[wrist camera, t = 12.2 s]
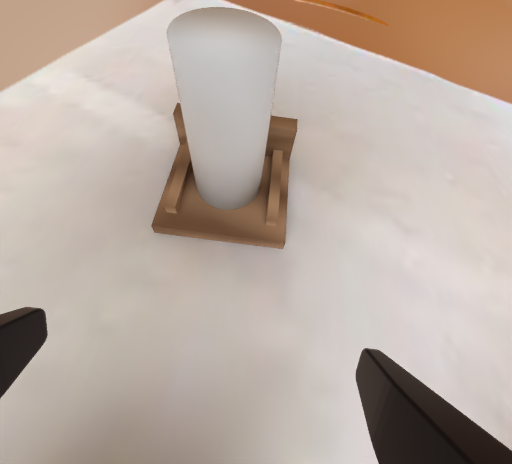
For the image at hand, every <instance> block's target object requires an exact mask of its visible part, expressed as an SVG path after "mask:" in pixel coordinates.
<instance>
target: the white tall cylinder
mask: <svg viewBox="0 0 512 464" xmlns="http://www.w3.org/2000/svg"><path fill="white" fill-rule="evenodd" d="M167 38H168V43H169V48H170V53H171V59H172V64H173V69H174V74H175V79H176V84H177V89H178V95H179V100H180V105H181V110H182V115H183V120H184V125H185V130H186V136H187V141H188V146H189V151H190V156H191V161H192V166H193V172H194V177H195V182H196V187H197V191H198V193H199V195H200V197H201V198H202V199H203V200H204V201H205V202H206V203H208V204H209V205H211V206H213V207H216V208H219V209H225V210H232V209H238V208H242V207H244V206H246V205H248V204H250V203H251V202H252V201H253V200H254V199H255V198H256V197H257V195H258V193H259V191H260V185H261V178H262V171H263V165H264V158H265V151H266V144H267V137H268V131H269V124H270V117H271V110H272V103H273V96H274V90H275V83H276V76H277V69H278V62H279V55H280V49H281V42H282V38H281V34H280V32H279V30H278V29H277V28H276V27H275V25H273V24H272V23H271V22H270V21H268V20H267V19H265V18H263V17H261V16H259V15H257V14H254V13H251V12H248V11H244V10H239V9H234V8H224V7H210V8H201V9H196V10H192V11H189V12H186V13H184V14H181V15H180V16H178V17H176V18H175V19H174V20H173V21H172V22H171V23H170V24H169V26H168V28H167Z"/></svg>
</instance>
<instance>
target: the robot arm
mask: <svg viewBox="0 0 512 464" xmlns="http://www.w3.org/2000/svg"><path fill="white" fill-rule="evenodd" d="M46 338H47V324H46V315H45V312H44V310H43V309H41V308H33V307H24V308H21V309H17V310H14V311H10V312H7V313H4V314H0V398H1V397H2V396H3V395H4V393H5V392H6V391H7V390H8V388H9V387H10V386H11V385H12V383H13V382H14V381H15V380H16V378H17V377H18V376H19V374H20V373H21V372H22V371H23V369H24V368H25V367H26V366H27V364H28V363H29V362H30V360H31V359H32V358H33V357H34V355H35V354H36V353H37V352H38V350H39V349H40V348H41V346H42V345H43V344H44V342H45V341H46ZM356 382H357V386H358V390H359V394H360V398H361V402H362V406H363V410H364V414H365V418H366V422H367V427H368V431H369V434H370V438H371V442H372V445H373V448H374V451H375V454H376V457H377V460H378V463H379V464H512V451H511V450H510V449H509V448H507V447H506V446H505V445H503V444H502V443H501V442H500V441H498V440H497V439H496V438H494V437H493V436H492V435H490V434H489V433H488V432H486V431H485V430H484V429H482V428H481V427H480V426H478V425H477V424H476V423H474V422H473V421H472V420H471V419H469V418H468V417H467V416H465V415H464V414H463V413H461V412H460V411H459V410H457V409H456V408H455V407H453V406H452V405H451V404H449V403H448V402H447V401H446V400H444V399H443V398H442V397H440V396H439V395H438V394H436V393H435V392H434V391H432V390H431V389H430V388H428V387H427V386H426V385H424V384H423V383H422V382H421V381H419V380H418V379H417V378H415V377H414V376H413V375H411V374H410V373H409V372H407V371H406V370H405V369H403V368H402V367H401V366H399V365H398V364H397V363H396V362H394V361H393V360H392V359H390V358H389V357H388V356H386V355H385V354H384V353H382V352H381V351H380V350H377V349H369V348H365V349H363V350H362V352H361V356H360V359H359V363H358V366H357V369H356Z"/></svg>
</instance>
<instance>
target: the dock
mask: <svg viewBox="0 0 512 464" xmlns="http://www.w3.org/2000/svg"><path fill="white" fill-rule="evenodd" d="M173 115H174V119H175V123H176V128H177V132H178V136H179V141H180V147H179V149H178V152H177V155H176V158H175V161H174V164H173V166H172V169H171V172H170V175H169V178H168V181H167V183H166V186H165V189H164V192H163V195H162V198H161V200H160V203H159V206H158V209H157V212H156V214H155V217H154V220H153V223H152V228H153V230H154V232H155V233H163V234H171V235H178V236H186V237H194V238H202V239H210V240H218V241H226V242H233V243H241V244H249V245H257V246H265V247H273V248H280V249H283V247H284V244H285V234H286V215H287V196H288V177H289V159H290V155H291V151H292V147H293V143H294V140H295V136H296V132H297V119H291V118H283V117H276V116H271V117H270V124H269V131H268V137H267V144H266V151H265V158H264V165H263V171H262V178H261V185H260V191H259V193H258V195H257V197H256V198H255V199H254V200H253V201H252V202H251V203H250V204H248V205H246V206H244V207H242V208H238V209H232V210H225V209H219V208H216V207H213V206H211V205H209V204H208V203H206V202H205V201H204V200H203V199H202V198H201V197H200V195H199V193H198V191H197V187H196V182H195V177H194V172H193V166H192V161H191V156H190V151H189V146H188V141H187V136H186V130H185V125H184V120H183V115H182V110H181V105H180V103H177V105H176V108H175V110H174V113H173Z"/></svg>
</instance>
